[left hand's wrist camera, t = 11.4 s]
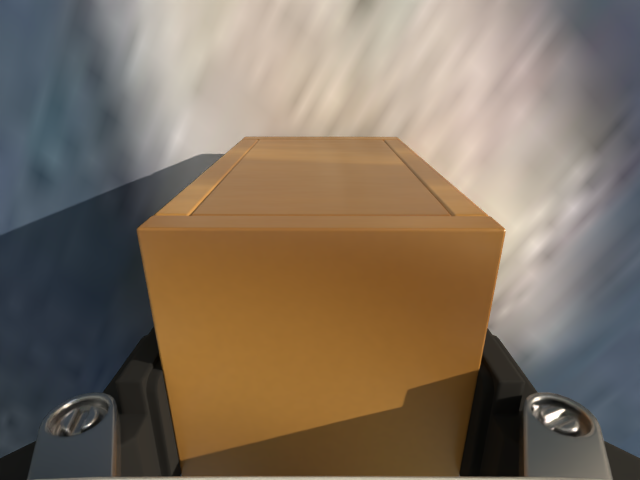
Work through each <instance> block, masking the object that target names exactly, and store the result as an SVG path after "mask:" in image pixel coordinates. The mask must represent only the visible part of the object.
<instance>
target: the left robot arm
mask: <svg viewBox="0 0 640 480" xmlns="http://www.w3.org/2000/svg"><path fill="white" fill-rule="evenodd" d="M459 474H460V477H450V476H190V477H180V475H181V469H180V463H179V458H178V452H177V447H176V441H175V436H174V431H173V425H172V420H171V414H170V409H169V403H168V398H167V393H166V387H165V382H164V376H163V371H162V365H161V360H160V355H159V349H158V344H157V338H156V333H155V327H153V329H152V330H151V332H150V333H149V334H148V335H146V336H144V337H143V338H142V339H141V340H140V342H139V343H138V344H137V346H136V347H135V349H134V350H133V351H132V353H131V354H130V356H129V357H128V358H127V360H126V361H125V362H124V364H123V365H122V367H121V368H120V369H119V371H118V372H117V374H116V375H115V376H114V378H113V379H112V381H111V382H110V383H109V385H108V386H107V387H106V389H105V390H104V392H103V393H87V394H82V395H79V396H76V397H73V398H70V399H68V400H66V401H65V402H63V403H61V404H59V405H58V406H56V407H55V408H54V409H52V410H51V411H50V412H49V413H48V414H47V415H46V417H45V418H44V419H43V421H42V423H41V425H40V428H39V432H38V436H37V440H36V441H35V442H33V443H31V444H29V445H27V446H25V447H23V448H21V449H19V450H17V451H14V452H12V453H10V454H8V455H6V456H4V457H2V458H0V480H640V458H638V457H636V456H634V455H632V454H630V453H628V452H626V451H624V450H622V449H620V448H618V447H616V446H614V445H611V444H609V443H607V442H605V441H604V440H603V436H602V432H601V428H600V425H599V423H598V421H597V419H596V418H595V417H594V415H593V414H592V413H591V412H590V411H589V410H588V409H586V408H585V407H584V406H582V405H581V404H579V403H577V402H575V401H574V400H572V399H570V398H567V397H564V396H561V395H558V394H553V393H538V392H537V391H536V390H535V388H534V387H533V385H532V384H531V383H530V381H529V380H528V379H527V377H526V376H525V374H524V373H523V372H522V370H521V369H520V367H519V366H518V365H517V363H516V362H515V360H514V359H513V358H512V356H511V355H510V354H509V352H508V351H507V349H506V348H505V347H504V345H503V344H502V342H501V341H500V340H499V338H498V337H497V336H494V335H492V334H491V332H490V331H489V329H488V328H487V332H486V337H485V343H484V348H483V353H482V358H481V364H480V369H479V372H478V377H477V382H476V388H475V393H474V398H473V404H472V409H471V414H470V420H469V425H468V430H467V436H466V441H465V446H464V452H463V457H462V462H461V468H460V473H459Z"/></svg>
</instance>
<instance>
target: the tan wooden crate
mask: <svg viewBox="0 0 640 480" xmlns="http://www.w3.org/2000/svg"><path fill="white" fill-rule="evenodd" d="M137 235H138V241H139V246H140V251H141V257H142V262H143V268H144V273H145V279H146V284H147V289H148V295H149V300H150V306H151V311H152V317H153V322H154V327H155V333H156V338H157V344H158V349H159V355H160V360H161V365H162V371H163V376H164V382H165V387H166V393H167V398H168V403H169V409H170V414H171V420H172V425H173V431H174V436H175V441H176V447H177V452H178V458H179V463H180V469H181V474H182V477H190V476H450V477H459V475H460V474H459V473H460V468H461V462H462V457H463V452H464V446H465V441H466V436H467V430H468V425H469V420H470V414H471V409H472V404H473V398H474V393H475V388H476V382H477V377H478V372H479V369H480V364H481V358H482V353H483V348H484V343H485V337H486V332H487V327H488V321H489V316H490V311H491V306H492V300H493V295H494V290H495V285H496V279H497V274H498V269H499V263H500V258H501V253H502V248H503V242H504V237H505V228H503V227H502V226H501V225H500V224H499V223H498V222H496V221H495V220H494V219H493V218H492V217H490V216H488V215H487V214H486V213H485V212H484V211H482V210H481V209H480V208H479V207H478V206H477V205H475V204H474V203H473V202H472V201H471V200H470V199H468V198H467V197H466V196H465V195H464V194H463V193H461V192H460V191H459V190H458V189H457V188H456V187H454V186H453V185H452V184H451V183H450V182H449V181H447V180H446V179H445V178H444V177H443V176H442V175H440V174H439V173H438V172H437V171H436V170H435V169H433V168H432V167H431V166H430V165H429V164H428V163H426V162H425V161H424V160H423V159H422V158H421V157H419V156H418V155H417V154H416V153H415V152H414V151H412V150H411V149H410V148H409V147H408V146H407V145H405V144H404V143H403V142H402V141H401V140H400V139H399V138H397V137H244V138H243V139H242V140H241V141H240V142H239V143H237V144H236V145H235V146H234V147H233V148H232V149H230V150H229V151H228V152H227V153H226V154H225V155H223V156H222V157H221V158H220V159H219V160H218V161H216V162H215V163H214V164H213V165H212V166H210V167H209V168H208V169H207V170H206V171H205V172H203V173H202V174H201V175H200V176H199V177H198V178H196V179H195V180H194V181H193V182H192V183H191V184H189V185H188V186H187V187H186V188H185V189H184V190H182V191H181V192H180V193H179V194H178V195H176V196H175V197H174V198H173V199H172V200H171V201H169V202H168V203H167V204H166V205H165V206H164V207H162V208H161V209H160V210H159V211H158V212H157V213H155V214H154V216H151V217H150V218H149V219H147V220H146V221H145V222H144V223H143V224H141V225H140V226H139V227H138V228H137Z"/></svg>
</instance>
